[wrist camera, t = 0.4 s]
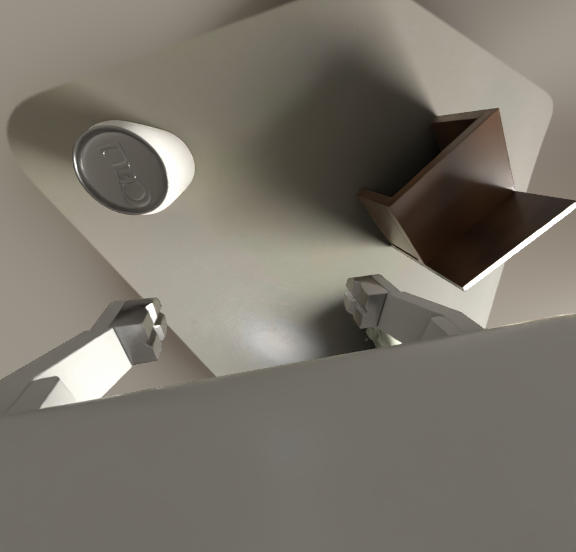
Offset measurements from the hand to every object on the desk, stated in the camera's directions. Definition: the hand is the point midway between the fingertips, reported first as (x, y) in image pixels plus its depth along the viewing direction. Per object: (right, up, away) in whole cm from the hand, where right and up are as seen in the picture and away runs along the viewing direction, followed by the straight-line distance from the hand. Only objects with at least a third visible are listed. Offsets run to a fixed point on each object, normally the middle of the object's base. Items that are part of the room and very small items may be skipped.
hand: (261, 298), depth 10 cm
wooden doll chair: (+20, +14, +24) cm, 35 cm away
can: (-13, +14, +16) cm, 25 cm away
